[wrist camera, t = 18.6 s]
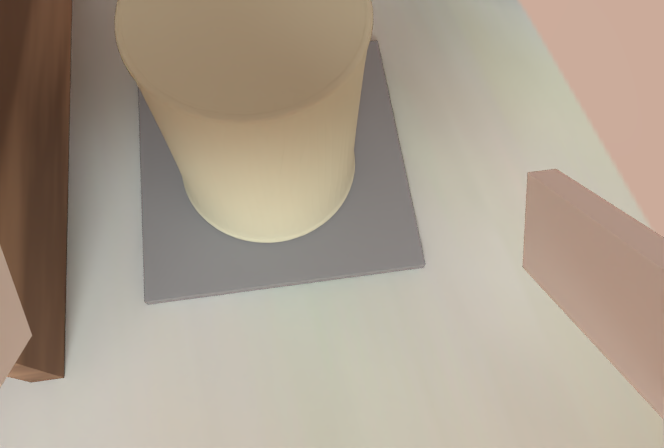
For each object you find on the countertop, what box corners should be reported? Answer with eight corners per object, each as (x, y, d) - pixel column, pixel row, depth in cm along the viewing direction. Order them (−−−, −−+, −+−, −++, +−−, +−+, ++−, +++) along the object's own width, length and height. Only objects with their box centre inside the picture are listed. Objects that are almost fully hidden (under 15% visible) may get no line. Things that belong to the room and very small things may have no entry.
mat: (147, 304, 29) (144, 301, 28) (140, 71, 34) (137, 64, 33) (423, 267, 30) (425, 263, 29) (376, 47, 35) (377, 40, 34)
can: (334, 78, 33) (344, -111, 22) (372, 225, 30) (406, 88, 19) (173, 105, 32) (97, -79, 21) (194, 259, 29) (117, 137, 18)
